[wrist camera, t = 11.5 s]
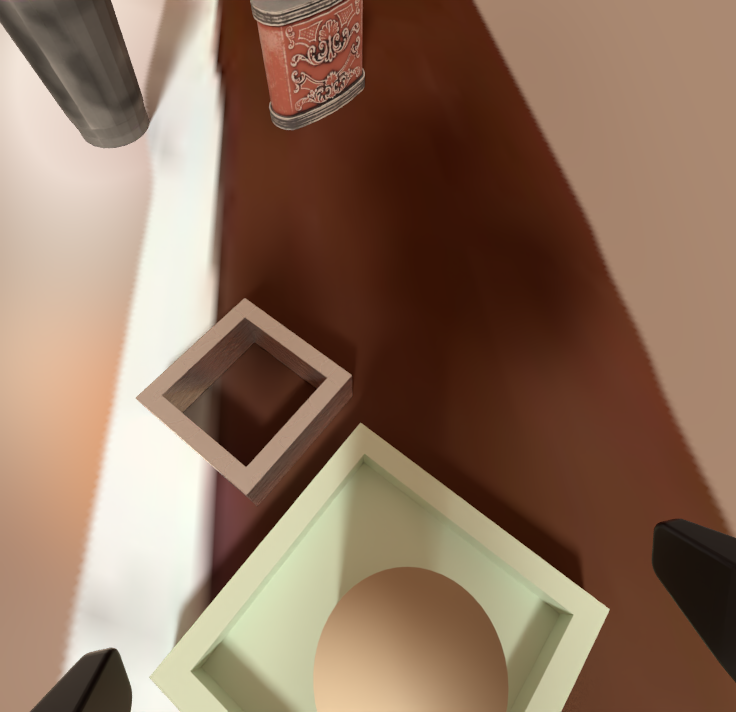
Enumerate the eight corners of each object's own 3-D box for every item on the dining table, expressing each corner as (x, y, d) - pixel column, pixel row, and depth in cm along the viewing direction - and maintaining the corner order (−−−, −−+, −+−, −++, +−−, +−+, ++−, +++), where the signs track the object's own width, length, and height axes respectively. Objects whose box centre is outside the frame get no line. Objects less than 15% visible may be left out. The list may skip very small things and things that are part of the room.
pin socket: (257, 506, 22) (246, 495, 19) (156, 417, 23) (135, 398, 21) (352, 396, 24) (352, 375, 22) (254, 324, 26) (244, 297, 24)
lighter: (343, 67, 37) (339, -106, 28) (375, 87, 36) (380, -85, 27) (260, 114, 34) (226, -60, 25) (291, 137, 33) (267, -36, 24)
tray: (422, 942, 15) (430, 986, 14) (168, 670, 19) (149, 677, 17) (587, 609, 20) (609, 609, 18) (360, 436, 23) (360, 422, 21)
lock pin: (396, 730, 17) (436, 860, 9) (313, 651, 19) (272, 693, 10) (456, 630, 19) (543, 652, 10) (376, 562, 20) (390, 528, 11)
